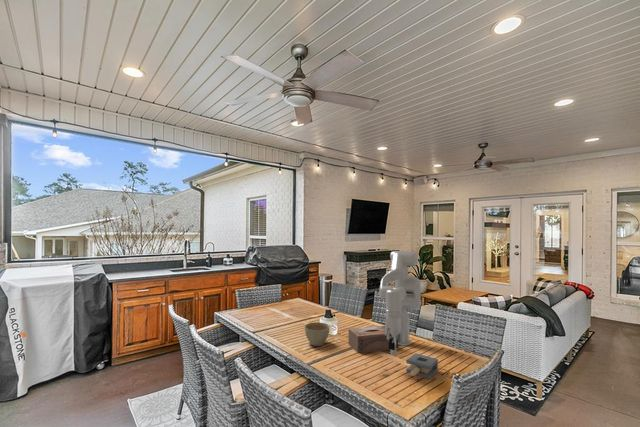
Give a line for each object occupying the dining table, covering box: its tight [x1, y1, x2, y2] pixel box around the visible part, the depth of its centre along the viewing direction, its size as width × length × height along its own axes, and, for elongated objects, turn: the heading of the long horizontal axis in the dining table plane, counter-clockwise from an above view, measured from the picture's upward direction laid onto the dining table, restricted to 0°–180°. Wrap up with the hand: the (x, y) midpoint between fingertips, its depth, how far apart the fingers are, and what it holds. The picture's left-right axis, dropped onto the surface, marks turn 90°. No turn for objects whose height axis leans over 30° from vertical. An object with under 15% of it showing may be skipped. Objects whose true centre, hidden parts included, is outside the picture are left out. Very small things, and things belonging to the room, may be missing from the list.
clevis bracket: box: [405, 352, 439, 380], centre depth 159 cm, size 12×18×6 cm, turn 141°
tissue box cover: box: [347, 325, 390, 354], centre depth 195 cm, size 26×14×10 cm, turn 107°
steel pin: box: [389, 335, 397, 356], centre depth 163 cm, size 3×3×10 cm
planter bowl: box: [304, 321, 331, 347], centre depth 199 cm, size 16×16×11 cm
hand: (393, 348), depth 163 cm, fingers closed on steel pin, 3 cm apart
